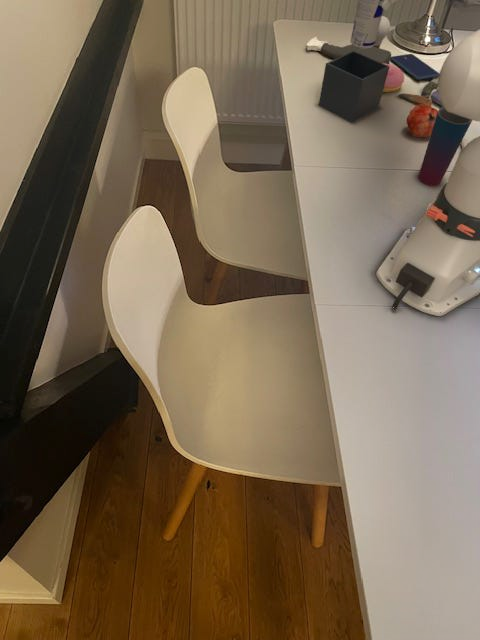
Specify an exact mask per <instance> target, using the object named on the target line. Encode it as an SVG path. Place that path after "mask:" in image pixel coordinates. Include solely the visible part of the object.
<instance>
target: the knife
mask: <svg viewBox="0 0 480 640" xmlns="http://www.w3.org/2000/svg"><path fill="white" fill-rule="evenodd" d="M438 81H439V77H433V78H432V79H431V80H430V81H429V82H428V83H427V84H426V85H425V86H424V87H423V89H422V91H421V94H420V96H423V97H425V98H428V97H431V94H432V93H433V90H434V89H435V88H438Z"/></svg>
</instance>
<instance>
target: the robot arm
mask: <svg viewBox="0 0 480 640" xmlns="http://www.w3.org/2000/svg"><path fill="white" fill-rule="evenodd" d="M417 1H418V2H421V1H423V0H417ZM396 2H398V0H381V1H380V2H379V4H378V5H379V7H380V8H381V9H383V11H385V12H386V11H387V10H388V9H389V7H390V6H391V5H392V4H394V3H396ZM439 74H440V75H439V81H438V87H437V88H438V90H439V96H440V99H441V102H442V104H443V106H444V108H445V109H446V111H448V112H450V113H453V114H456V115H459V116H461V117H464V118H468V119H471V120H472V121H474V122H479V123H480V28H479V29H478V30H476V31H474V32H473V33H471V34H469V35H468V36H466V37H465V38H463V39H462V40H461V41H459V42H458V43H457V44H456V45H455V46H454V47H453V48H452V49H451V51H449V53H448V55H447V56H446V57H445V59H444V61H443V64H442V65H441V68H440V72H439ZM443 106H442V107H443ZM383 260H384V261H382V263H381V265H380V266H379V268H378V269H377V270H376V273H375V275H376V278H377V279H378V281H379V282H380V284H381V285H382V286H383V287H384V288H385V289H386V290H387V291H388V292H389V293H390V294H392V295H393V296H395V297H396V298H395V299H394V301H393V304H392V305H393V306H391V309H392V310H397V309H398V307H399V305H400V303H401V302H403V303H405V304H407V305H408V306H410V307H412V308H413V309H416V310H418V311H420V312H422V313H425V314H428V315H431V316H436V317H442V316H444V315H446V314H448V313H450V312H451V311H453V310H454V309H456V308H458V307H460V306H461V305H463V304H464V303H466V302H468V301H469V300H471V299H473V298H475V297H477V296H478V295H480V135H479V136H477V137H475V138H472V139H471V140H470V141H468V144H467V145H466V146H465V147H464V148H463V149H462V148H461V151H460V153H459V154H458V157H457V159H456V161H455V164H454V166H453V168H452V170H451V173H450V175H449V176H448V179H447V181H446V182H445V183H444V184H443V186H442V188H441V189H440V190H439V191H438V192H437V195H436V197H435V199H434V202H431V203H429V204H428V206H427V209H426V211H425V212H424V214H423V215H422V217H421V218H420V220H419V221H418V223H417V224H416V226H413V227H411V228H408V229H406V230H405V231H404V232H403V234H402V235H401V237H400V238H399V239H398V241H397V242H396V243H395V245H394V246H393V248H392V249H391V250H390V252H389V254H388V255H387V256H386V258H385V259H383ZM393 307H394V308H393ZM430 310H431V311H430ZM440 312H441V313H440Z"/></svg>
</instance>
